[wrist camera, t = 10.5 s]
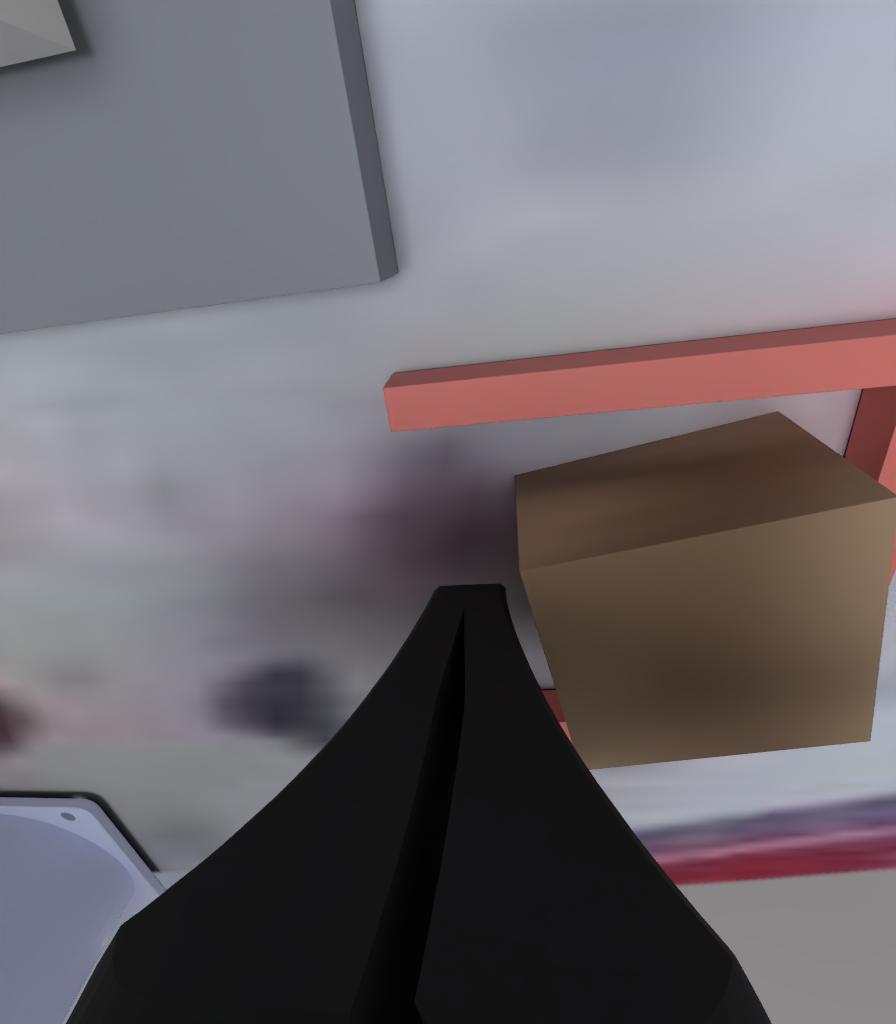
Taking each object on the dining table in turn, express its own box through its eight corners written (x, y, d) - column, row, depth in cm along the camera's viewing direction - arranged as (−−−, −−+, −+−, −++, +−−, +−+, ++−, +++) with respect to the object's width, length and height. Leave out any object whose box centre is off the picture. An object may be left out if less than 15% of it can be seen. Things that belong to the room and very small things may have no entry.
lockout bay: (455, 711, 14) (451, 742, 13) (393, 373, 10) (382, 388, 9) (808, 707, 13) (830, 742, 12) (936, 314, 8) (986, 325, 7)
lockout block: (562, 641, 13) (580, 770, 10) (514, 471, 11) (519, 571, 8) (776, 607, 12) (870, 741, 9) (774, 408, 10) (898, 497, 7)
